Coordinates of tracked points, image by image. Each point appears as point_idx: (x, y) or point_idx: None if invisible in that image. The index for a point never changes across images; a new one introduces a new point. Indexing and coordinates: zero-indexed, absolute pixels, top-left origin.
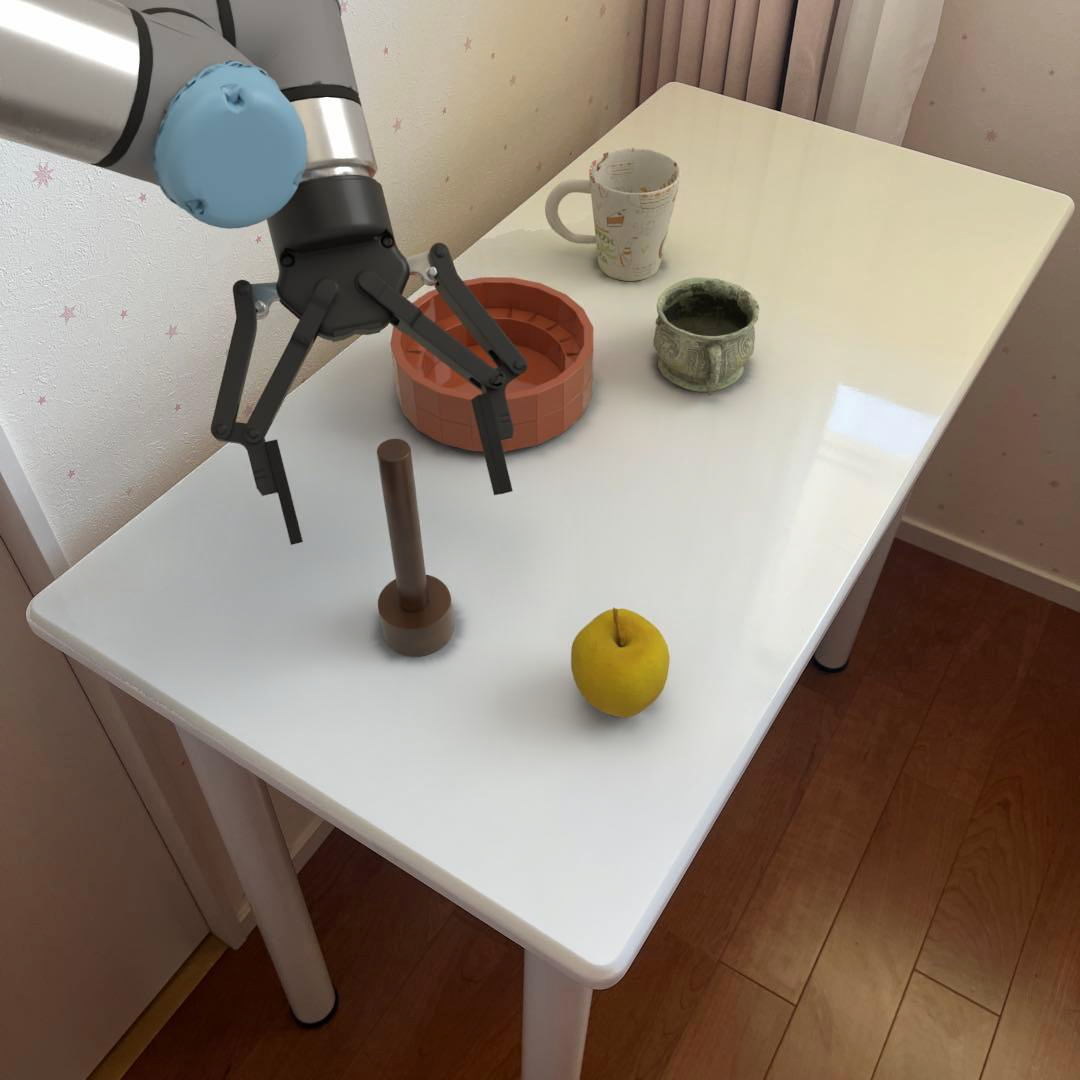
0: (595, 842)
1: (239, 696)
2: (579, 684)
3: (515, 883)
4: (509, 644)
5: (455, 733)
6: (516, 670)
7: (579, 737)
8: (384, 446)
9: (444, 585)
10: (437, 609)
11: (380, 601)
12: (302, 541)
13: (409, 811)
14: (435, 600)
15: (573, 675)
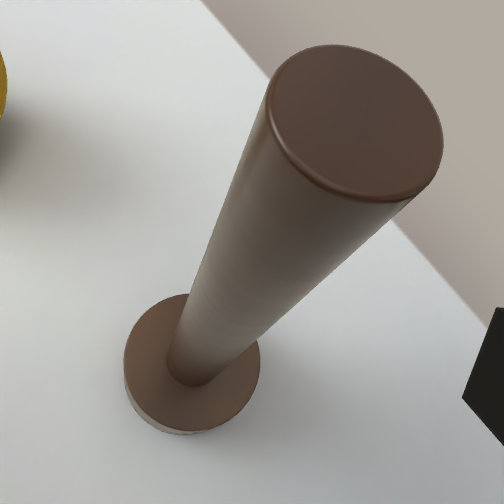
0: (88, 11)
1: (445, 341)
2: (4, 68)
3: (187, 17)
4: (54, 286)
5: (189, 182)
6: (67, 238)
7: (36, 114)
8: (405, 155)
9: (127, 375)
10: (160, 324)
11: (253, 379)
12: (498, 307)
13: None
14: (156, 345)
15: (2, 95)
